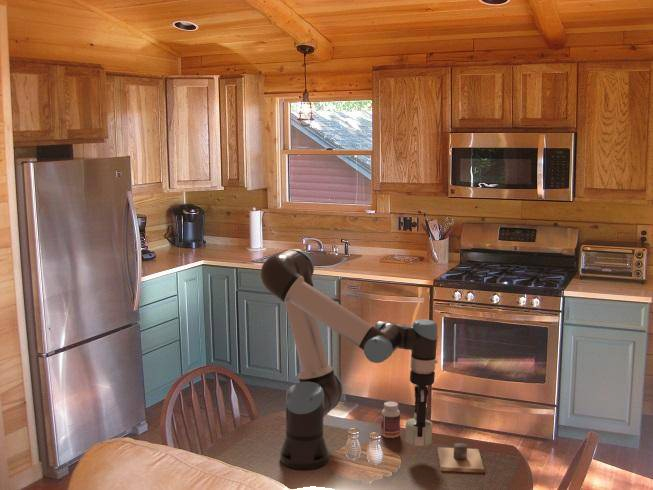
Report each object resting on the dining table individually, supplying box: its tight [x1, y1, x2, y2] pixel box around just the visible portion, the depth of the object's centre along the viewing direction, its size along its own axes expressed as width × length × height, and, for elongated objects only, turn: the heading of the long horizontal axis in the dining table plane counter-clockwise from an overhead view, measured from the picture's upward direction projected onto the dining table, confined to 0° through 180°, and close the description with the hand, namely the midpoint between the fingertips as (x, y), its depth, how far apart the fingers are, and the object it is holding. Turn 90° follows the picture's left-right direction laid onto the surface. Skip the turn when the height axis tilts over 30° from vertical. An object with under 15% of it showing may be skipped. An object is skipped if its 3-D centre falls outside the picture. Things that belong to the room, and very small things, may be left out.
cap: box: [405, 417, 434, 447], centre depth 239 cm, size 8×8×6 cm
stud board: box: [436, 442, 485, 474], centre depth 239 cm, size 13×14×5 cm
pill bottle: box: [380, 401, 401, 439], centre depth 258 cm, size 6×6×11 cm
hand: (418, 439), depth 240 cm, fingers closed on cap, 8 cm apart
